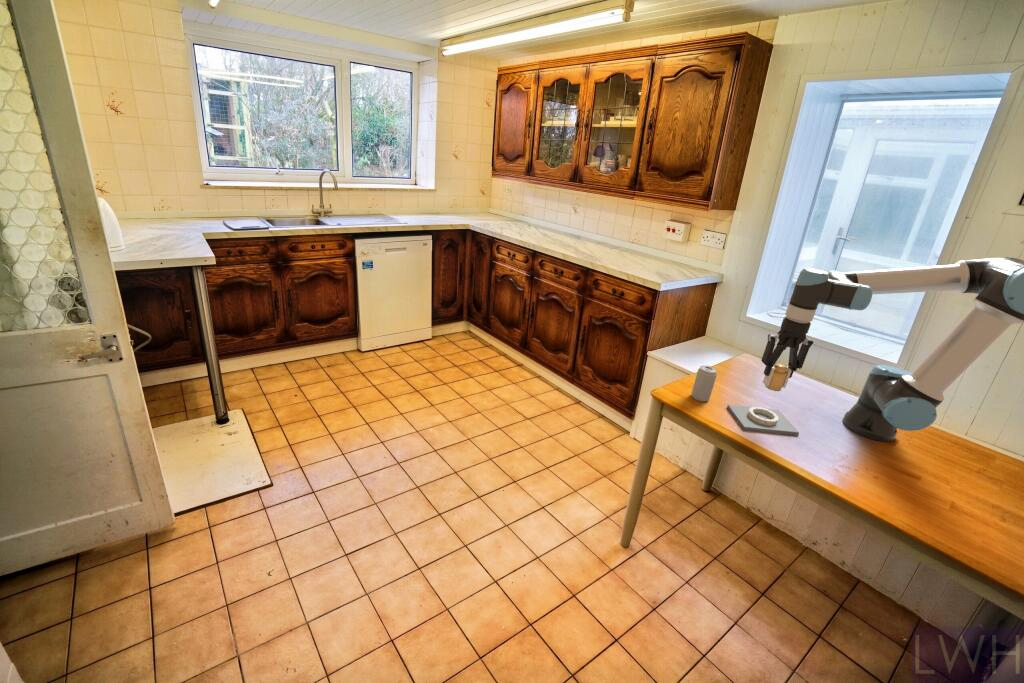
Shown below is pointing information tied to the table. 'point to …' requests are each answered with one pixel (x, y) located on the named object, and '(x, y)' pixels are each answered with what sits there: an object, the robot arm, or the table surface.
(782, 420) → the collar board
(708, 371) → the beverage can
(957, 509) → the table surface
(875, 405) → the robot arm
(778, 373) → the nesting doll
